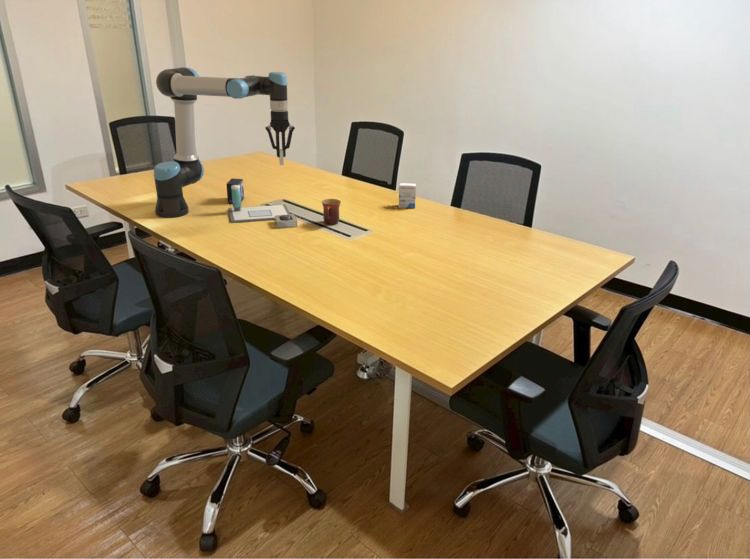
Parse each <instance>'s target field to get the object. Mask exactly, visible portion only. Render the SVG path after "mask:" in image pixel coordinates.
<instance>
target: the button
mask: <svg viewBox="0 0 750 559" xmlns="http://www.w3.org/2000/svg"><path fill="white" fill-rule="evenodd" d="M281 220H291V216H290V215H282V216H281Z"/></svg>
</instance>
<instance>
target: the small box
mask: <svg viewBox="0 0 750 559" xmlns="http://www.w3.org/2000/svg"><path fill="white" fill-rule="evenodd" d="M225 185H226V193H227V194H226V196H227V199H226V200H227V204H231V205H233V202H232V190H231V186H232V185H240V194H241V202H242V201H243V200H244V199H245V191H244V190H245V189H244V179H243V178H231V179H229V181H227V183H226V184H225Z"/></svg>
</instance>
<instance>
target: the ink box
mask: <svg viewBox="0 0 750 559" xmlns="http://www.w3.org/2000/svg"><path fill="white" fill-rule="evenodd" d="M416 198H417V183H404V182H403V183H402V182H400V183H399V187H398V205H397V206H398V208H400V209H401V208H402V209H416Z"/></svg>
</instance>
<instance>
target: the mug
mask: <svg viewBox="0 0 750 559" xmlns="http://www.w3.org/2000/svg"><path fill="white" fill-rule="evenodd" d="M341 203H342V201H341V200H339V199H336V198H325V199H323V200H321V204H322V208H323V212H322V214H323V215H322V216H323V217H322V220H323V222H324V223H325V224H326V225H331V226H333V225H337V224H338V223H339V222H340V206H341Z"/></svg>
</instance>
